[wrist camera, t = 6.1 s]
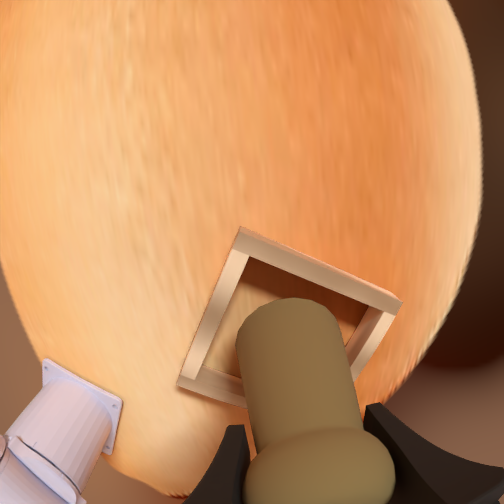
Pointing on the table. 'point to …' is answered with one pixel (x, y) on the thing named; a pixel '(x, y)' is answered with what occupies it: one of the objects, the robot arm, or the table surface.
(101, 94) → the table surface
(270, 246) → the open square wooden box
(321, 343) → the cork
